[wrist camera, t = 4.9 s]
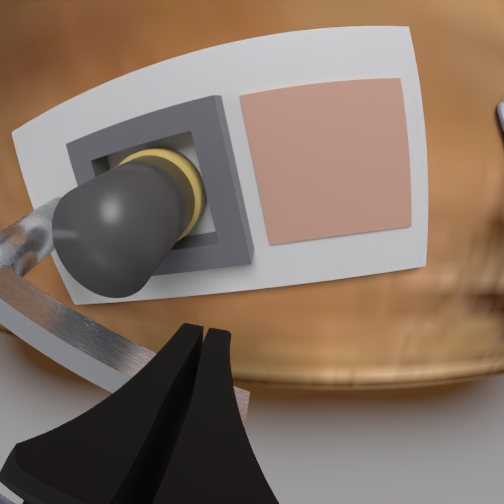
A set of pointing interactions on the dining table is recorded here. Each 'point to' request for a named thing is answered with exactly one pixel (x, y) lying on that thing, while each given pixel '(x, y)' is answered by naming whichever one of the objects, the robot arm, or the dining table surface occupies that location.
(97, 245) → the plug
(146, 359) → the retention clip
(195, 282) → the dock board
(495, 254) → the dining table surface
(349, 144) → the pad
